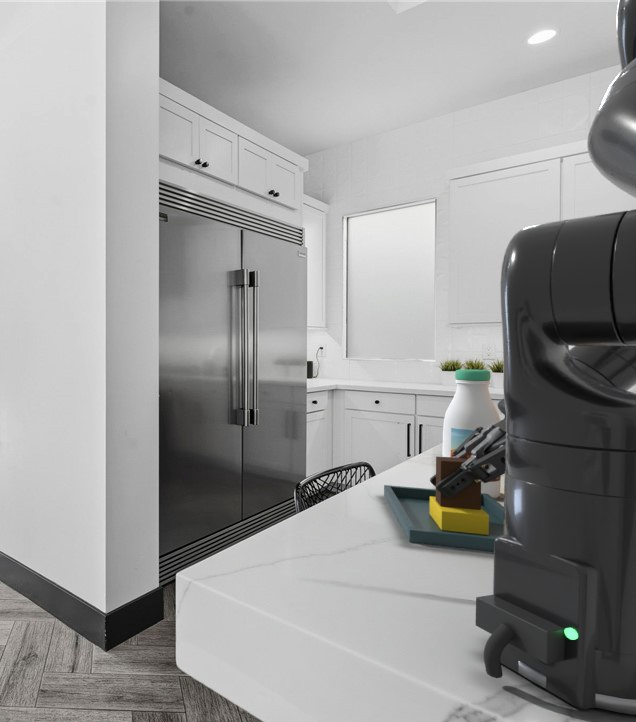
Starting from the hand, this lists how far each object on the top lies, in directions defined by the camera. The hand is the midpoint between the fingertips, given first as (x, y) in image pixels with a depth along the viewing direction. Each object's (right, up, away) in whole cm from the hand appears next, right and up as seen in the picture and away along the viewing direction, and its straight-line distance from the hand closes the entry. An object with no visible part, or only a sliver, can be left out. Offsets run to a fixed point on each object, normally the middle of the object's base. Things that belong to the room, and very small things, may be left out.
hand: (438, 489), depth 70 cm
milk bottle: (+15, -5, +15) cm, 22 cm away
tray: (+2, -5, +1) cm, 6 cm away
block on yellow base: (+2, -4, -1) cm, 5 cm away
